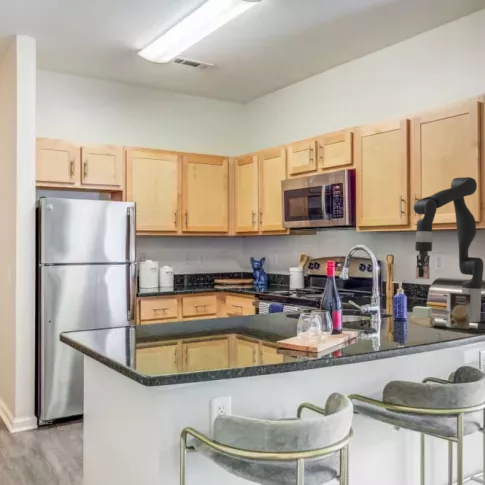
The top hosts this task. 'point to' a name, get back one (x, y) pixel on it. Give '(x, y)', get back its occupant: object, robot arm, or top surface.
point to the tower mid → (422, 312)
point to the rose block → (426, 273)
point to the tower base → (422, 321)
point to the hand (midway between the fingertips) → (422, 276)
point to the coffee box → (458, 310)
